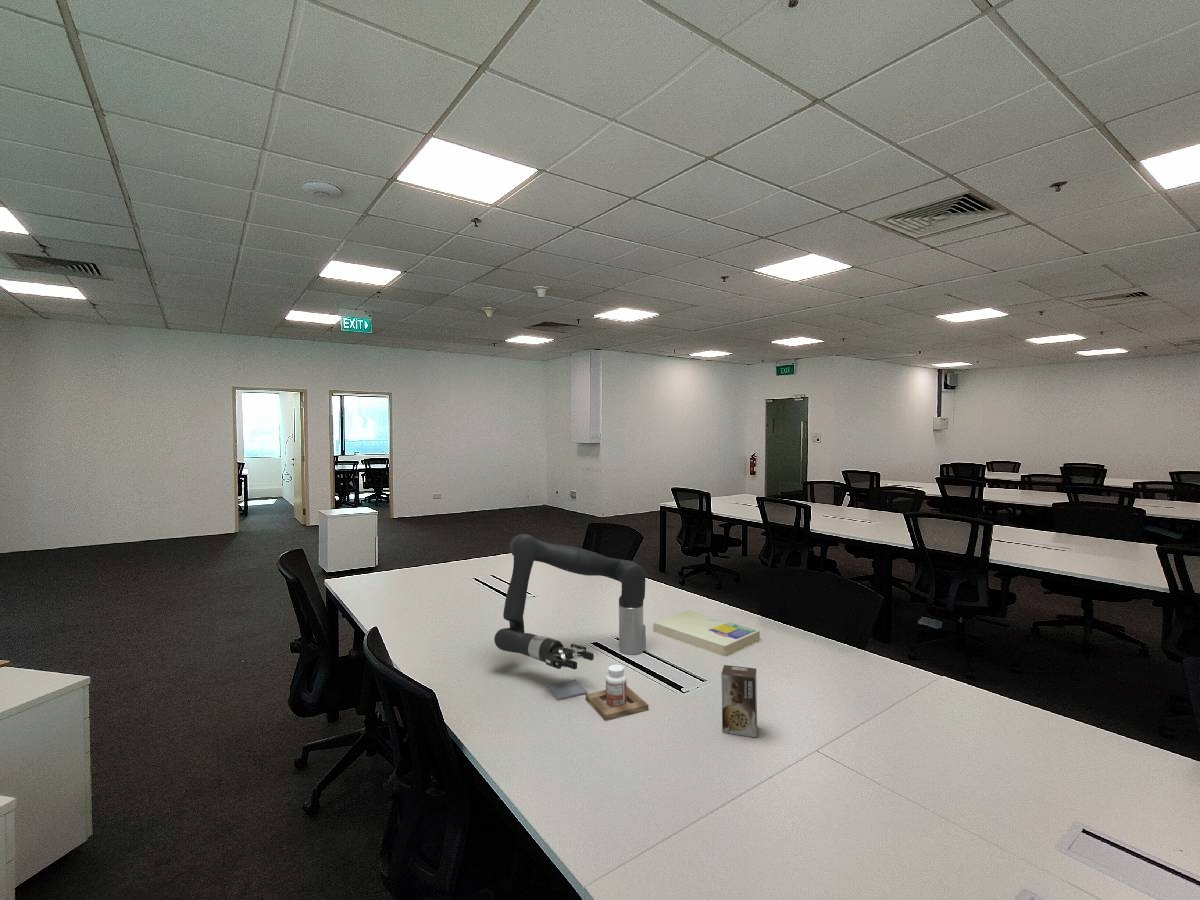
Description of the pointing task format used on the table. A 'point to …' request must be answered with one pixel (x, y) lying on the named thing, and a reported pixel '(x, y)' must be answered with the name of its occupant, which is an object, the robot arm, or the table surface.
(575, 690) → the pad
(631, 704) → the board
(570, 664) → the robot arm
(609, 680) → the pill bottle
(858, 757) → the table surface
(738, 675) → the coffee box
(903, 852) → the table surface
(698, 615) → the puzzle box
